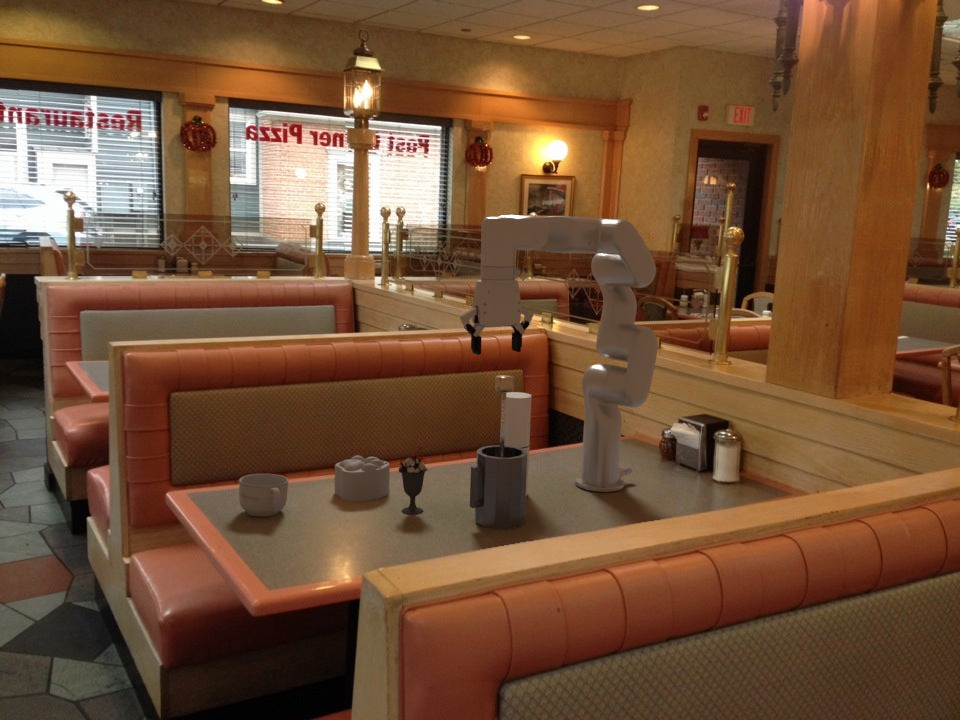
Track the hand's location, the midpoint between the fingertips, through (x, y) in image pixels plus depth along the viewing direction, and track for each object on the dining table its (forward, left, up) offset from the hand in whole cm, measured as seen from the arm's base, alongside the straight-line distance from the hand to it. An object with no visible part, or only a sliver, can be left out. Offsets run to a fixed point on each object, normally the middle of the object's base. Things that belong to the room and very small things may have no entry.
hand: (496, 352), depth 192 cm
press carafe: (0, +2, -38) cm, 38 cm away
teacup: (+43, -27, -39) cm, 64 cm away
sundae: (+13, -13, -39) cm, 43 cm away
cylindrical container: (-15, -12, -39) cm, 43 cm away
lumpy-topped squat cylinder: (+17, -30, -39) cm, 52 cm away
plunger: (-1, +2, -27) cm, 27 cm away
